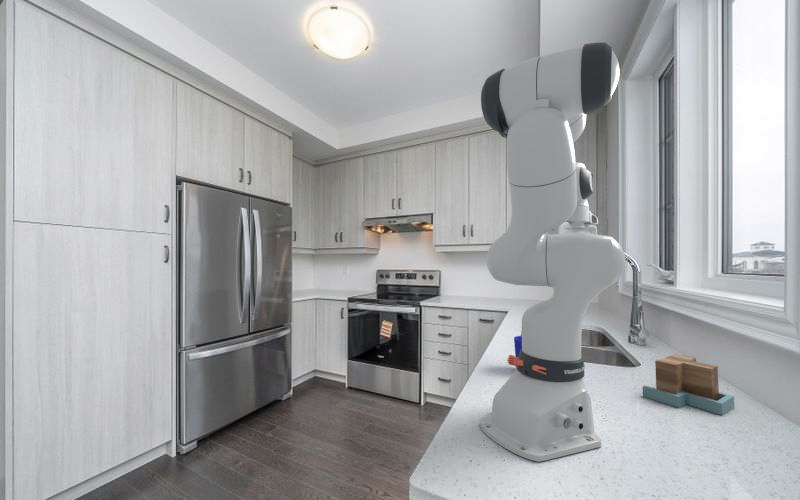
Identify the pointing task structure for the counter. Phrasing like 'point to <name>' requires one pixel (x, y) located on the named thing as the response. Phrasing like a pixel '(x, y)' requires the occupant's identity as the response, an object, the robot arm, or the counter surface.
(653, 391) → the t pocket
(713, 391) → the t block
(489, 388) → the counter surface
